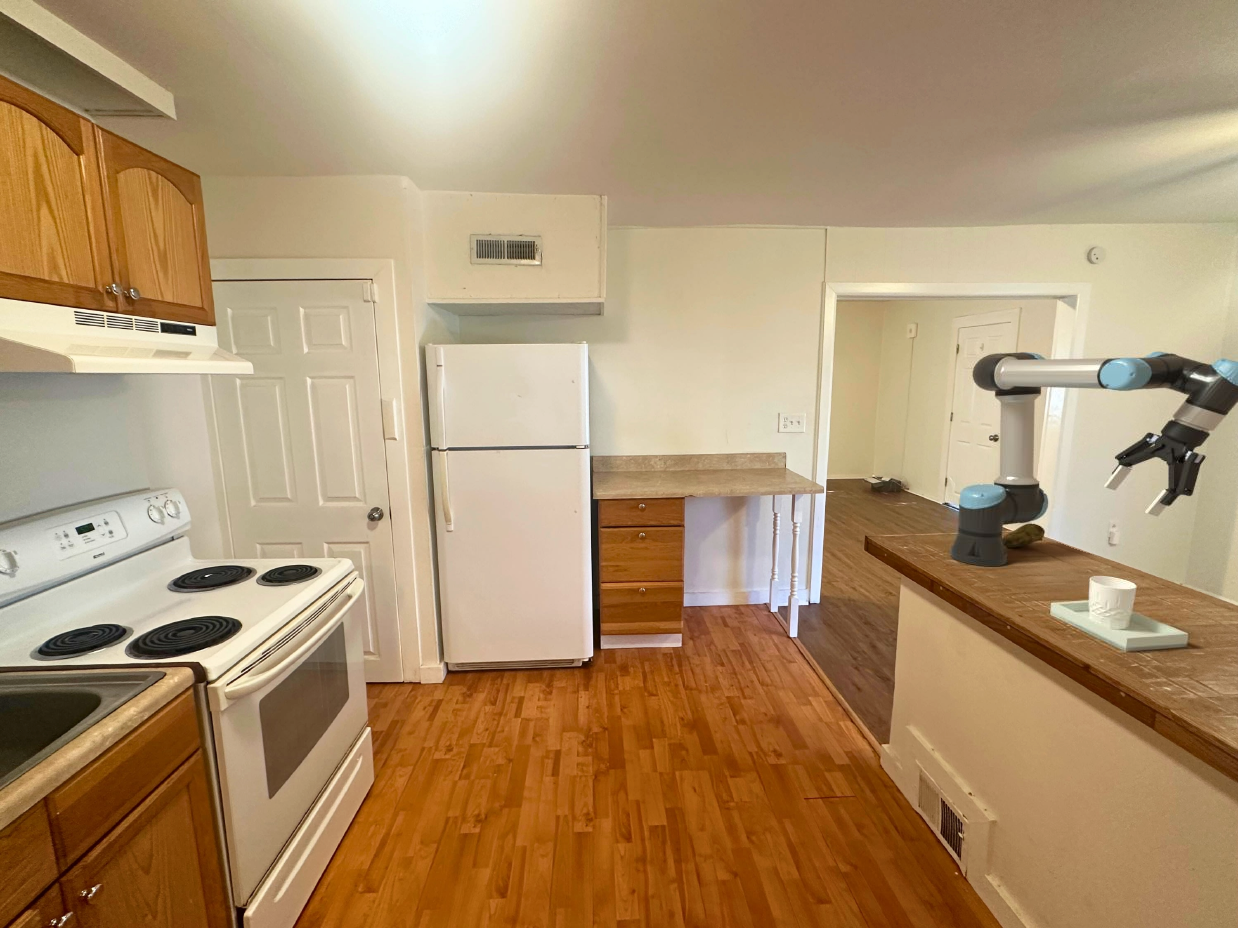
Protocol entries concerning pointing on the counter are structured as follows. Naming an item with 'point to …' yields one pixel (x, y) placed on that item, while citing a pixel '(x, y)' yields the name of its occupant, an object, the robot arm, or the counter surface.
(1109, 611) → the white cup
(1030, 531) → the avocado
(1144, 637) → the tray
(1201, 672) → the counter surface
